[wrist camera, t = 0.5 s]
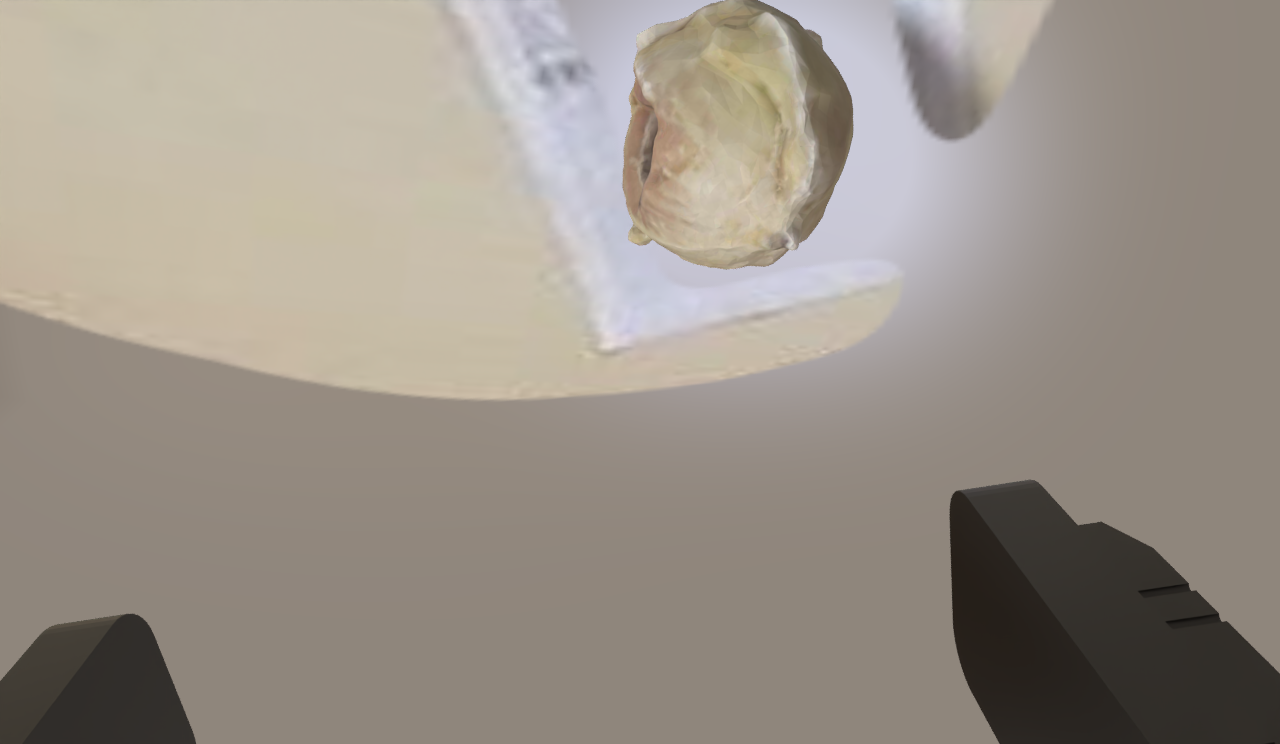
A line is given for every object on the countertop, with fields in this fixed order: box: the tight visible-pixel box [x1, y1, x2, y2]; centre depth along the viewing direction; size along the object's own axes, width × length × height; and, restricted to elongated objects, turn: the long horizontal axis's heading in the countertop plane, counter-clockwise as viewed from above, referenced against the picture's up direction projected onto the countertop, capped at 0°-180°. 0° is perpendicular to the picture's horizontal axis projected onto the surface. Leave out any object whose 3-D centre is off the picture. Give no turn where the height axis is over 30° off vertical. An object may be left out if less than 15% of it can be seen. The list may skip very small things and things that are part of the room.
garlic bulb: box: [623, 0, 853, 269], centre depth 34 cm, size 9×8×10 cm
